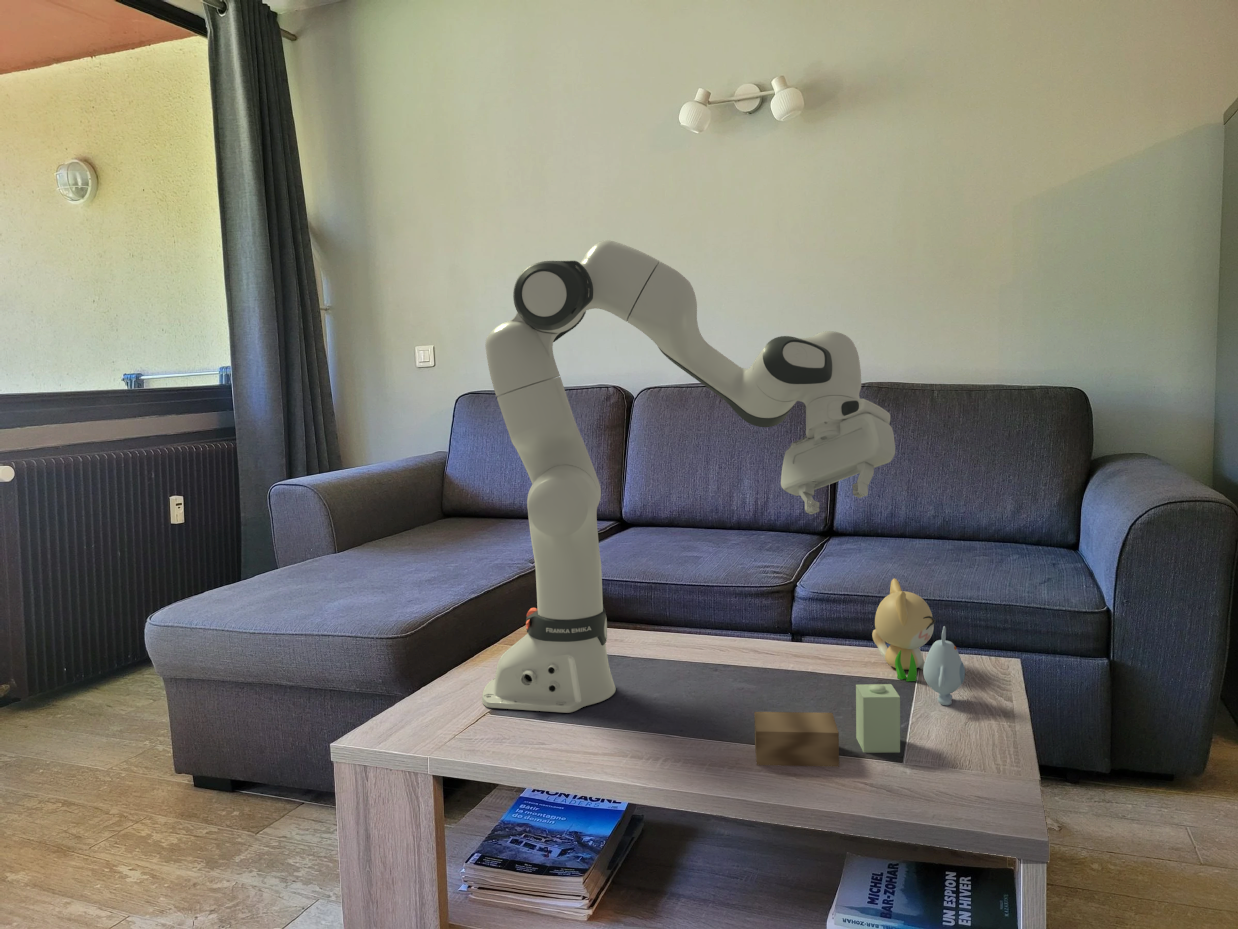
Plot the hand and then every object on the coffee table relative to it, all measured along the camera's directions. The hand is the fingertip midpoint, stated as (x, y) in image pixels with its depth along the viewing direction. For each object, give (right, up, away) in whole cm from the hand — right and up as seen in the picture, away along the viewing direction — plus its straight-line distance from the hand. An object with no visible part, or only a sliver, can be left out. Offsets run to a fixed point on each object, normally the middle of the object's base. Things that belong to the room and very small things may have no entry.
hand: (835, 504), depth 135 cm
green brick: (+4, -34, -9) cm, 35 cm away
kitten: (+18, -30, +22) cm, 41 cm away
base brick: (-8, -35, -12) cm, 38 cm away
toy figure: (+19, -32, +6) cm, 37 cm away
